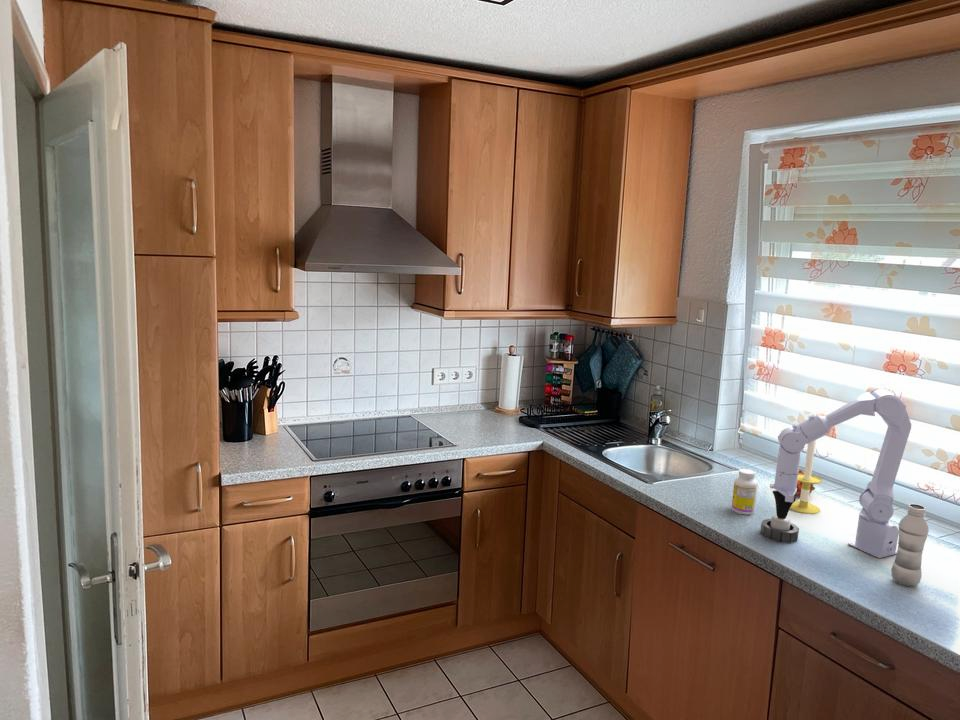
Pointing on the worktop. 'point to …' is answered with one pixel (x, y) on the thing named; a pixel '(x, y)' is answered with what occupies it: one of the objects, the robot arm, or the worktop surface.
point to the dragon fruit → (799, 486)
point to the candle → (807, 484)
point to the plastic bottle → (910, 547)
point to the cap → (780, 523)
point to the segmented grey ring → (779, 532)
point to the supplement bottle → (744, 492)
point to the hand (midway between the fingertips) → (781, 517)
